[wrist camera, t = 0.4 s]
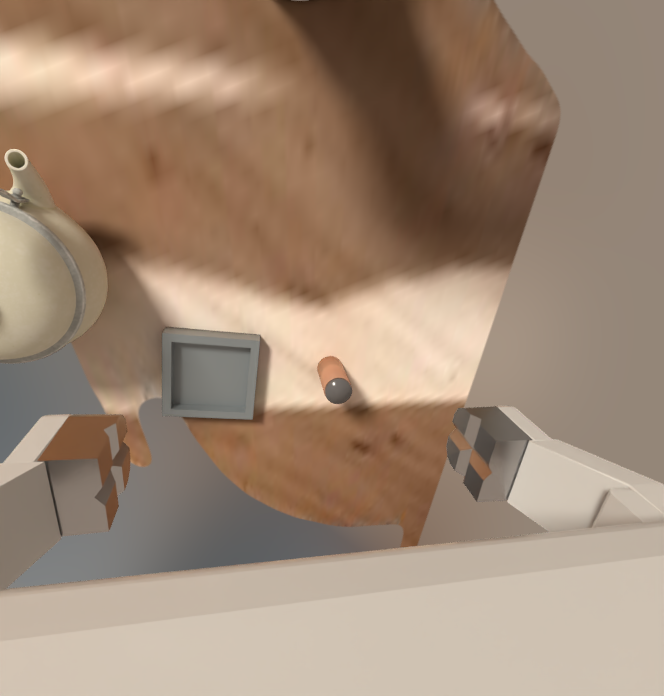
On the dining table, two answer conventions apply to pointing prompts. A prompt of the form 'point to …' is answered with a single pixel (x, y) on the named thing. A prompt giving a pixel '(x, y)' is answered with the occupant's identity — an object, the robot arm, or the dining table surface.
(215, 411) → the tray
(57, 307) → the kettle
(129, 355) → the dining table surface
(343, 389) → the terracotta jar
